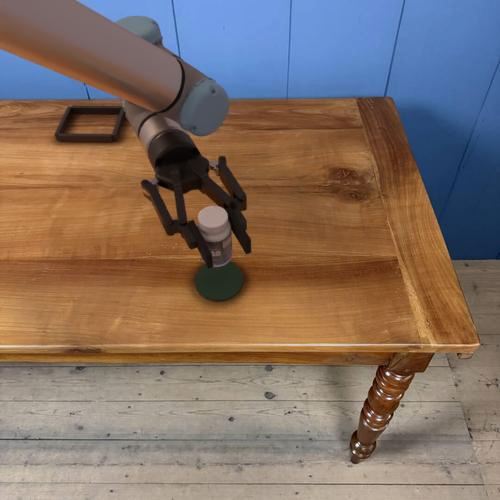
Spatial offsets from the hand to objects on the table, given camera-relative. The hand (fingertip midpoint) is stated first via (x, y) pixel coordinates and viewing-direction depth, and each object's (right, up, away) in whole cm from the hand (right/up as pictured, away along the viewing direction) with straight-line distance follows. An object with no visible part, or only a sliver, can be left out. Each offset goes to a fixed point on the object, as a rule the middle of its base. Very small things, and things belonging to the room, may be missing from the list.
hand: (229, 254), depth 59 cm
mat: (-2, -4, +13) cm, 14 cm away
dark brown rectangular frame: (-31, +27, +38) cm, 56 cm away
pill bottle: (-2, 0, +8) cm, 8 cm away
